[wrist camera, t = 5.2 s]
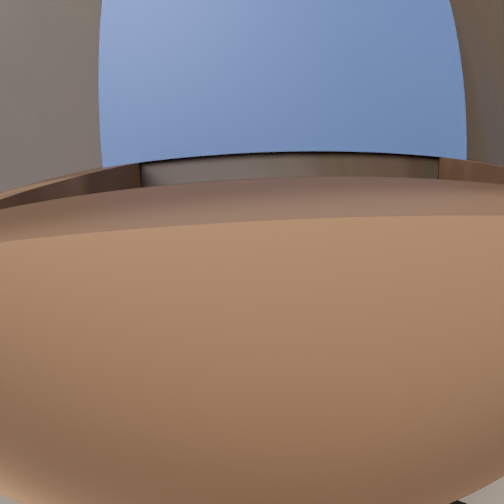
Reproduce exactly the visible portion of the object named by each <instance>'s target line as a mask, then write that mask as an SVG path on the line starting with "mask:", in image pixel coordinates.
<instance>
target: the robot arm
mask: <svg viewBox="0 0 504 504" xmlns="http://www.w3.org/2000/svg"><path fill="white" fill-rule="evenodd" d="M450 504H466V503H463V502H460V501H458V500H456V501H454V502H452V503H450Z"/></svg>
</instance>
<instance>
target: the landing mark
mask: <svg viewBox="0 0 504 504" xmlns="http://www.w3.org/2000/svg"><path fill="white" fill-rule="evenodd" d="M99 119H100V137H101V151H102V163H103V168H105V167H111V166H118V165H125V164H132V163H140V162H148V161H156V160H165V159H174V158H184V157H195V156H207V155H221V154H237V153H256V152H287V151H346V152H376V153H395V154H411V155H423V156H435V157H445V158H455V159H463V160H466V151H467V141H466V109H465V95H464V83H463V74H462V65H461V58H460V51H459V45H458V39H457V33H456V28H455V23H454V18H453V14H452V9H451V5H450V1H449V0H102V10H101V23H100V40H99Z"/></svg>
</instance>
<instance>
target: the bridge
mask: <svg viewBox="0 0 504 504" xmlns="http://www.w3.org/2000/svg"><path fill="white" fill-rule="evenodd" d="M502 476H504V166H501V165H496V164H490V163H485V162H479V161H472V160H463V159H455V158H445V157H439V179H422V178H396V177H291V178H263V179H243V180H226V181H211V182H197V183H185V184H174V185H163V186H153V187H144V188H141V178H140V167H139V163H132V164H125V165H118V166H111V167H105V168H97V169H91V170H86V171H81V172H77V173H73V174H69V175H64V176H60V177H56V178H52V179H49V180H45V181H41V182H37V183H34V184H30V185H26V186H23V187H19V188H16V189H13V190H9V191H6V192H3V193H0V494H2V495H4V496H7V497H8V498H10V499H13V500H15V501H17V502H19V503H21V504H450V503H452V502H454V501H456V500H459V499H461V498H463V497H465V496H467V495H469V494H471V493H473V492H475V491H477V490H479V489H481V488H483V487H485V486H487V485H488V484H490V483H492V482H494V481H496V480H497V479H499V478H501V477H502Z"/></svg>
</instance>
